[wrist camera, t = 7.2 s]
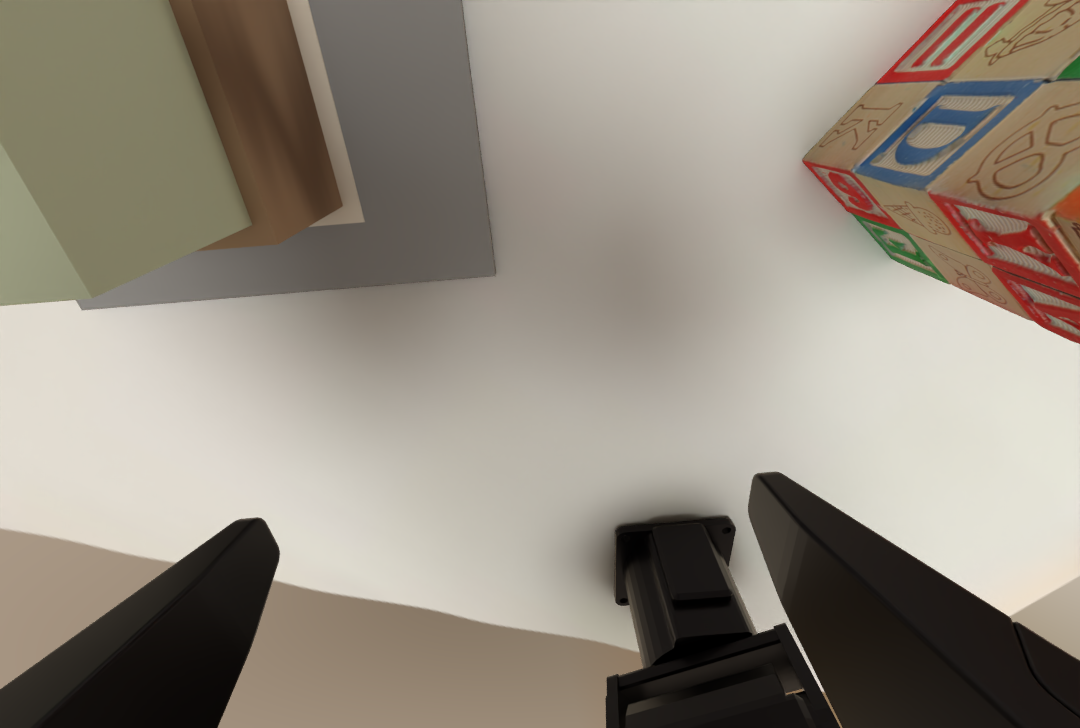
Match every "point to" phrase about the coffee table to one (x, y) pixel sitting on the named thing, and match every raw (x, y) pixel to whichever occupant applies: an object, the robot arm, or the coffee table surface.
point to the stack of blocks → (975, 157)
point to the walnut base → (261, 114)
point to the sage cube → (103, 149)
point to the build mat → (366, 164)
